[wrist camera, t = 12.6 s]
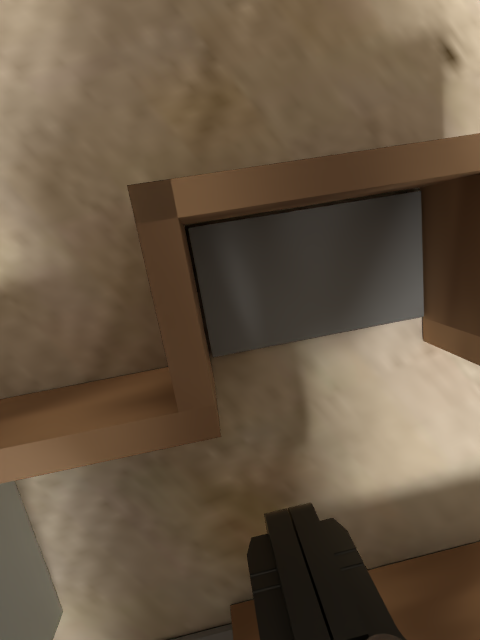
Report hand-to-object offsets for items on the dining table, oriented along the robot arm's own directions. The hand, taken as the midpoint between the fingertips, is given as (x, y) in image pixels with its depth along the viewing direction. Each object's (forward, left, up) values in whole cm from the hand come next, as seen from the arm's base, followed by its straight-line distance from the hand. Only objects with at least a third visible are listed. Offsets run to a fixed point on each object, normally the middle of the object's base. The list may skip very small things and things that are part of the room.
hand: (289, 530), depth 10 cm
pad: (-2, -8, -2) cm, 8 cm away
